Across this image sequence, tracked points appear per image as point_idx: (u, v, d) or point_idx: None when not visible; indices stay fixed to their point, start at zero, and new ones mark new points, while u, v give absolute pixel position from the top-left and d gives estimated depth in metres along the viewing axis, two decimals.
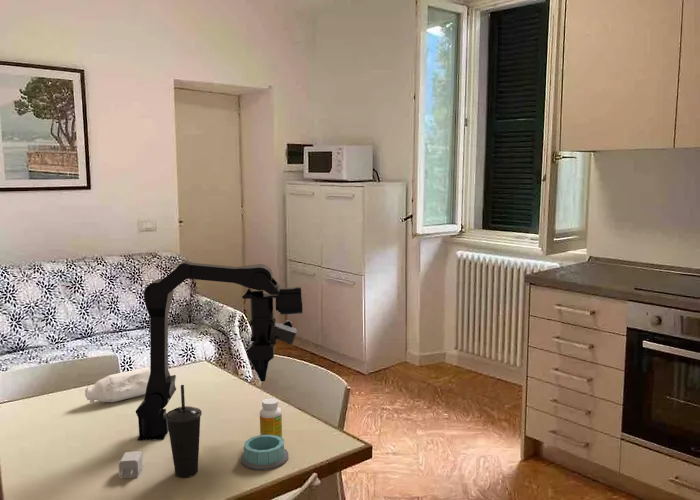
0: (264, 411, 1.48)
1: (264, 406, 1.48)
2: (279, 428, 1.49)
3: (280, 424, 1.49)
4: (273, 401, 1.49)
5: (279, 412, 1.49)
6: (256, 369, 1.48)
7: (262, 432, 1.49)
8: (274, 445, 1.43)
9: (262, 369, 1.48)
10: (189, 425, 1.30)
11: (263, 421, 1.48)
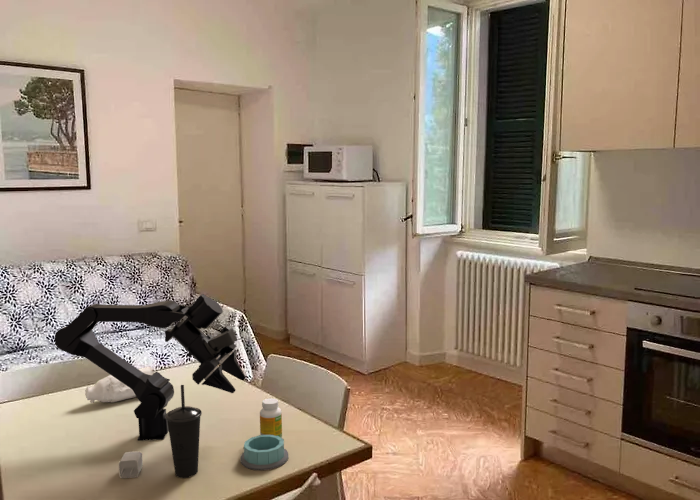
0: (264, 411, 1.48)
1: (264, 406, 1.48)
2: (279, 428, 1.49)
3: (280, 424, 1.49)
4: (273, 401, 1.49)
5: (279, 412, 1.49)
6: (218, 387, 1.44)
7: (262, 432, 1.49)
8: (274, 445, 1.43)
9: (223, 383, 1.44)
10: (189, 425, 1.30)
11: (263, 421, 1.48)
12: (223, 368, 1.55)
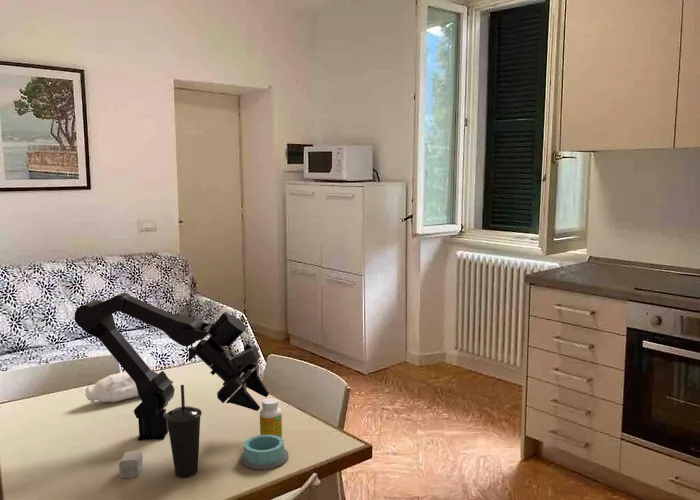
0: (264, 411, 1.48)
1: (264, 406, 1.48)
2: (279, 428, 1.49)
3: (280, 424, 1.49)
4: (273, 401, 1.49)
5: (279, 412, 1.49)
6: (243, 405, 1.44)
7: (262, 432, 1.49)
8: (274, 445, 1.43)
9: (247, 401, 1.44)
10: (189, 425, 1.30)
11: (263, 421, 1.48)
12: (246, 385, 1.55)
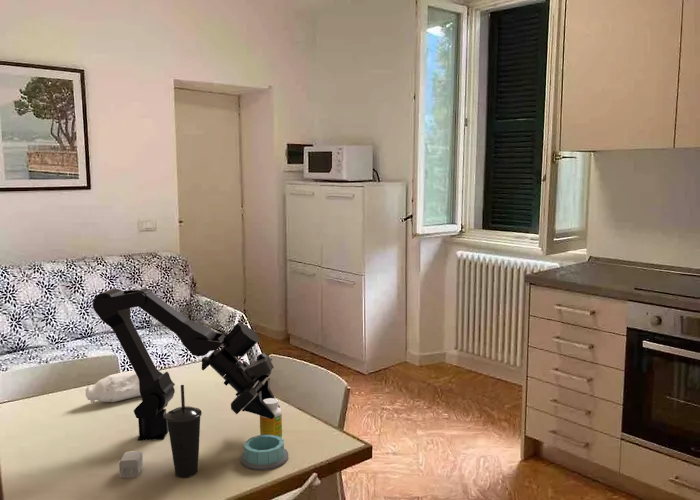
0: None
1: None
2: (279, 428, 1.49)
3: (280, 424, 1.49)
4: (273, 401, 1.49)
5: (279, 411, 1.49)
6: (258, 413, 1.46)
7: (262, 432, 1.49)
8: (274, 445, 1.43)
9: (262, 409, 1.46)
10: (189, 425, 1.30)
11: (263, 420, 1.48)
12: None
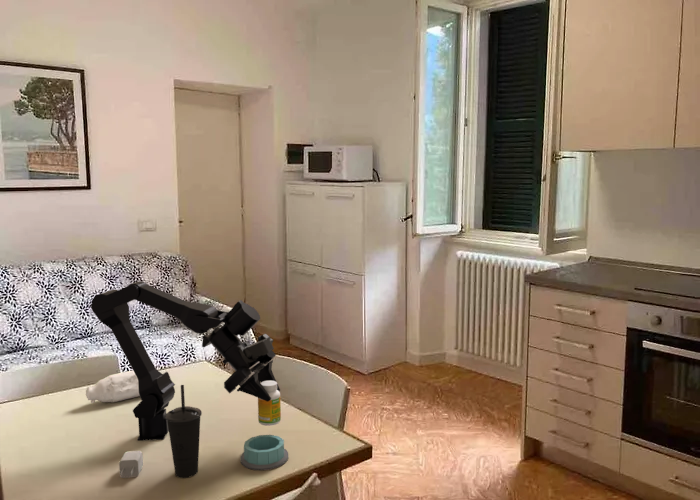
0: None
1: None
2: (276, 411, 1.45)
3: (278, 407, 1.45)
4: (271, 383, 1.45)
5: (277, 395, 1.45)
6: (254, 394, 1.42)
7: (259, 414, 1.45)
8: (274, 445, 1.43)
9: (258, 391, 1.42)
10: (189, 425, 1.30)
11: (260, 403, 1.44)
12: (258, 379, 1.50)
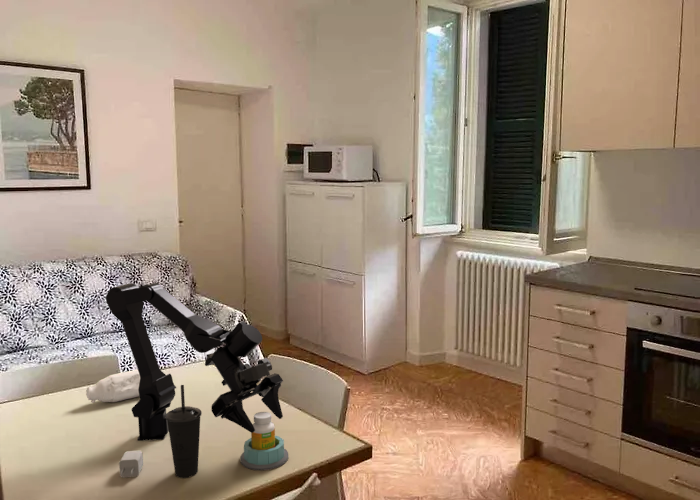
0: (254, 424, 1.38)
1: (254, 419, 1.38)
2: (267, 446, 1.37)
3: (269, 442, 1.37)
4: (264, 416, 1.38)
5: (268, 428, 1.37)
6: (238, 423, 1.35)
7: None
8: None
9: (242, 420, 1.34)
10: (189, 425, 1.30)
11: (251, 434, 1.38)
12: (264, 402, 1.45)
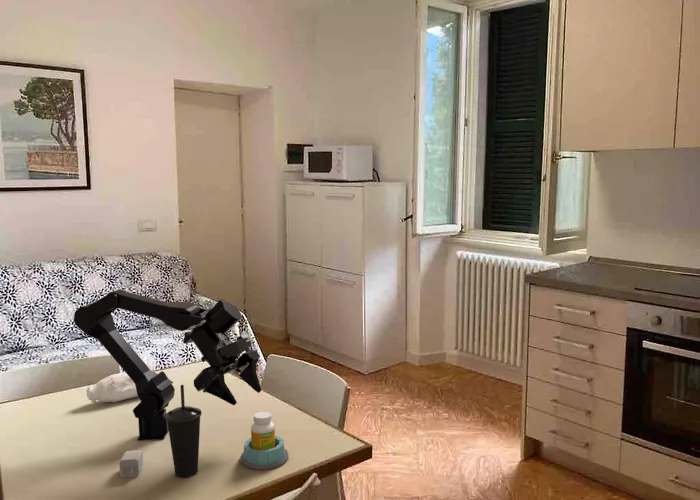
0: (254, 424, 1.38)
1: (254, 419, 1.38)
2: (267, 446, 1.37)
3: (269, 442, 1.37)
4: (264, 416, 1.38)
5: (268, 428, 1.37)
6: (220, 397, 1.40)
7: None
8: None
9: (224, 393, 1.39)
10: (189, 425, 1.30)
11: (251, 434, 1.38)
12: (242, 377, 1.50)
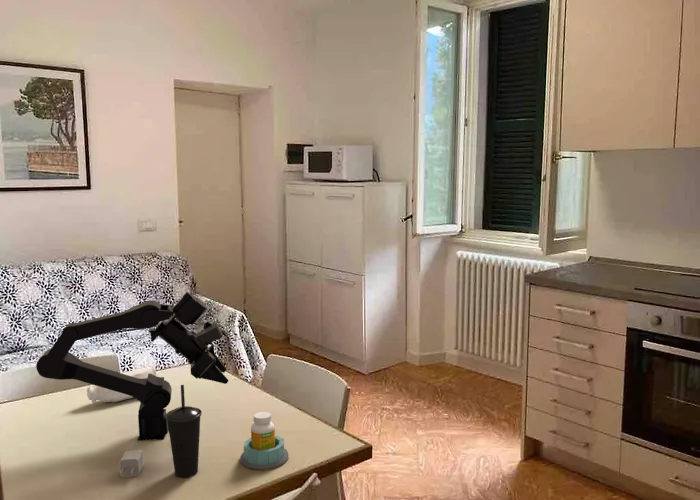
0: (254, 425, 1.38)
1: None
2: (267, 446, 1.37)
3: (269, 442, 1.37)
4: (264, 416, 1.38)
5: (268, 428, 1.37)
6: (213, 379, 1.50)
7: None
8: None
9: (217, 375, 1.50)
10: (189, 425, 1.30)
11: (251, 435, 1.38)
12: None
